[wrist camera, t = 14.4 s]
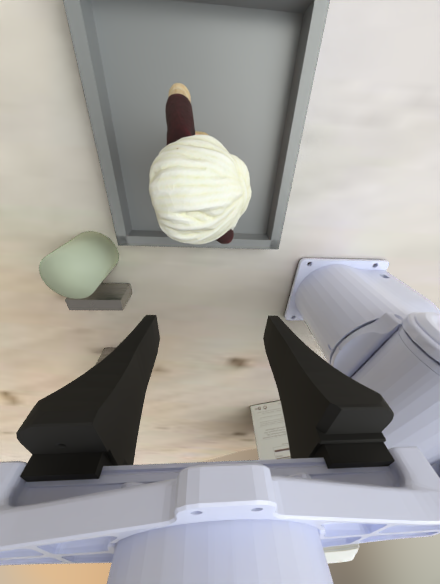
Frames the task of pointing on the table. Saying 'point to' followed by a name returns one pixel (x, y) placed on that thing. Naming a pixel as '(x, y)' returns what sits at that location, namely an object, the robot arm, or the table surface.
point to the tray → (198, 97)
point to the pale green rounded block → (79, 265)
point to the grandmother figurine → (196, 179)
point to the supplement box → (276, 446)
